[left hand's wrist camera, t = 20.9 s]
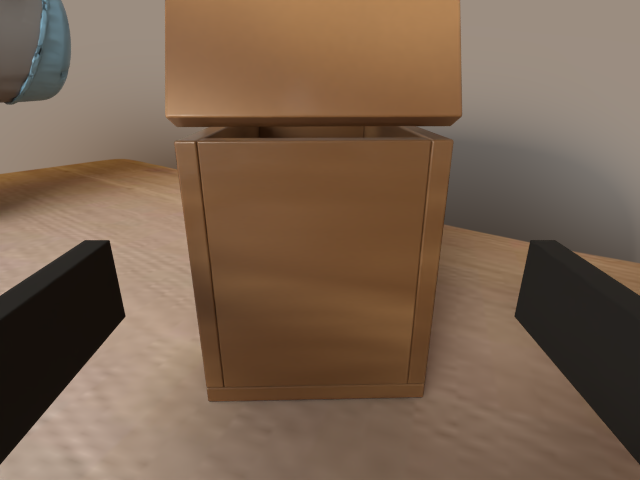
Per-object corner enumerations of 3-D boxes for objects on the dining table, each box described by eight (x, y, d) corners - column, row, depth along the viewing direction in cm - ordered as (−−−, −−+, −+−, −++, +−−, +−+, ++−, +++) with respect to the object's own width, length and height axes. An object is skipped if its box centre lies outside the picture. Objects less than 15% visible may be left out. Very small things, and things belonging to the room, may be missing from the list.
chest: (257, 246, 32) (249, 110, 28) (367, 245, 32) (373, 110, 28) (208, 402, 16) (172, 140, 12) (423, 397, 16) (454, 139, 13)
